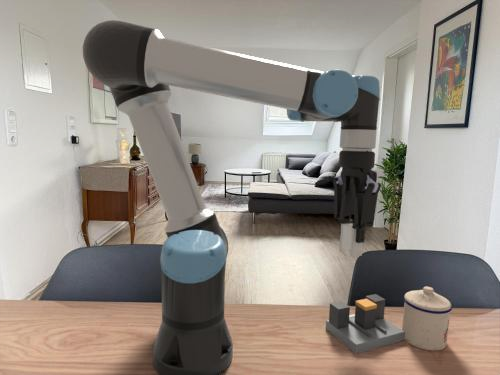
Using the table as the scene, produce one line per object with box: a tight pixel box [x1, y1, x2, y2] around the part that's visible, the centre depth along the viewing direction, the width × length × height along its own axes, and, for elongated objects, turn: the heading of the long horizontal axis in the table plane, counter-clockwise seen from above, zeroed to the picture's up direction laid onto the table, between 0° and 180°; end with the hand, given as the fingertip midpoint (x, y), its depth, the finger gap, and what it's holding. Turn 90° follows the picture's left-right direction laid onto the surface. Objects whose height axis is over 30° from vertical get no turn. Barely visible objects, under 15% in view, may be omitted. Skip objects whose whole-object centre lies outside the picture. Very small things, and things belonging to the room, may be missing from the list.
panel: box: [325, 293, 405, 355], centre depth 75 cm, size 13×10×6 cm
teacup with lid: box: [401, 286, 453, 352], centre depth 75 cm, size 12×9×12 cm
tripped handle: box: [354, 298, 377, 330], centre depth 75 cm, size 3×3×5 cm
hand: (350, 253), depth 79 cm, fingers open, 3 cm apart
